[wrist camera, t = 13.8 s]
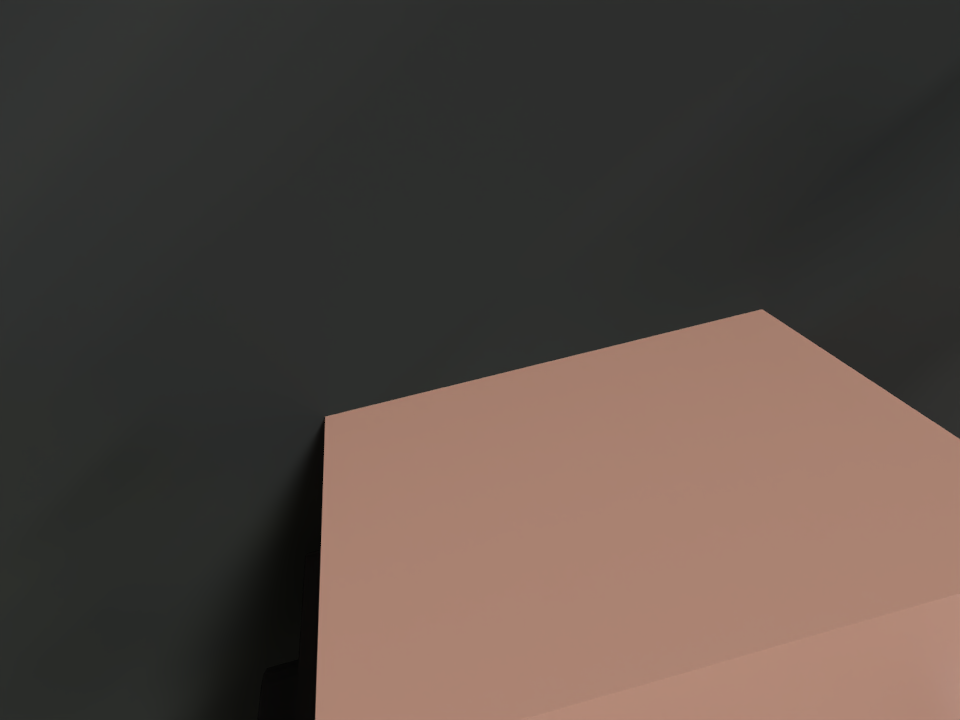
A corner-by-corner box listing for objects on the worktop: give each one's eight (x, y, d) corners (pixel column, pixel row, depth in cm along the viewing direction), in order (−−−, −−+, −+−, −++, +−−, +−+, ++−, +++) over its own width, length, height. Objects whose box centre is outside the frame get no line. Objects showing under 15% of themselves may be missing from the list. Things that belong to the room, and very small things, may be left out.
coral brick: (761, 309, 10) (1122, 547, 5) (763, 627, 12) (1004, 964, 8) (325, 416, 9) (313, 779, 5) (424, 723, 12) (476, 1143, 7)
